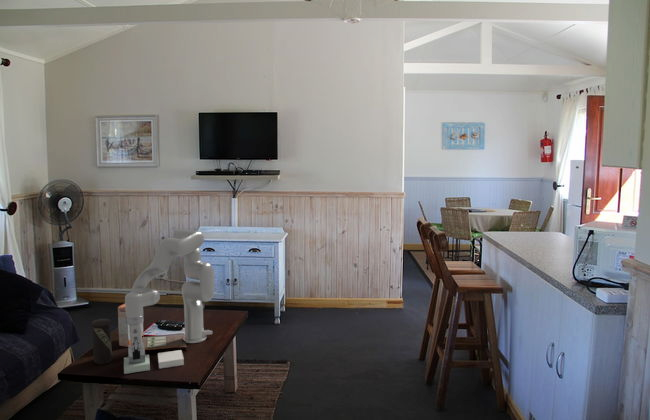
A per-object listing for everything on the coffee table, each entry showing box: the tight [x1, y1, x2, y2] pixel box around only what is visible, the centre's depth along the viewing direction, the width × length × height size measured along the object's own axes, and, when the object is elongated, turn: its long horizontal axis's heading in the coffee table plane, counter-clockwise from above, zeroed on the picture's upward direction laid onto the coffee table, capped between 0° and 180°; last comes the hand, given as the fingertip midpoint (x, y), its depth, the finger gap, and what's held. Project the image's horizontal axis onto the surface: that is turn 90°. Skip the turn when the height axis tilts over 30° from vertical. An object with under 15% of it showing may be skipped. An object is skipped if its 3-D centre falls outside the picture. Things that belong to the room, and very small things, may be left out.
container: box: [90, 318, 113, 365], centre depth 237 cm, size 9×9×20 cm
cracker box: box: [117, 303, 144, 347], centre depth 260 cm, size 14×6×21 cm, turn 168°
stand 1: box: [123, 354, 151, 375], centre depth 231 cm, size 11×11×3 cm
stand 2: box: [157, 349, 185, 369], centre depth 237 cm, size 11×11×3 cm
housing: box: [127, 342, 146, 364], centre depth 231 cm, size 7×6×8 cm
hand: (136, 354), depth 231 cm, fingers open, 9 cm apart
